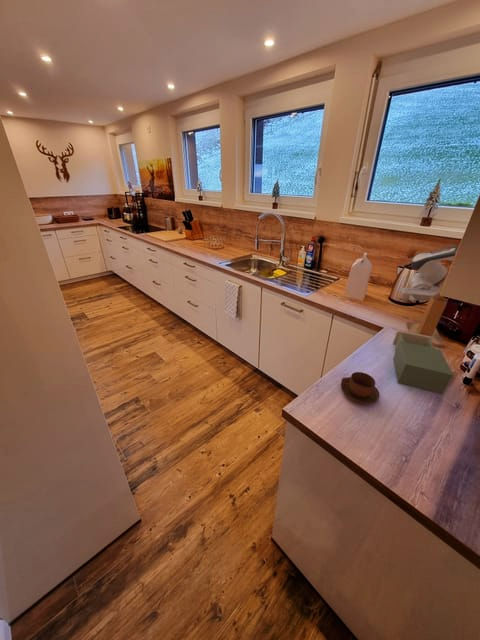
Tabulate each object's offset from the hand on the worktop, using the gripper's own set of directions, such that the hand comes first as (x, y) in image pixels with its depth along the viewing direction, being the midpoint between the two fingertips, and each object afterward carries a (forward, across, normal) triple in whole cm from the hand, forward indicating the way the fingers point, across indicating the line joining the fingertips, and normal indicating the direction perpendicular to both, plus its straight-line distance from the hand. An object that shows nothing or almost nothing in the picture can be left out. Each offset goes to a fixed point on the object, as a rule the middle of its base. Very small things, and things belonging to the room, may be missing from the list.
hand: (425, 302), depth 127 cm
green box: (+47, -9, +7) cm, 49 cm away
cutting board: (+12, 0, +11) cm, 17 cm away
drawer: (+33, -9, +7) cm, 35 cm away
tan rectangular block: (+12, 0, +10) cm, 15 cm away
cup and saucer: (+66, -29, +3) cm, 72 cm away
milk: (-25, -31, +12) cm, 41 cm away
